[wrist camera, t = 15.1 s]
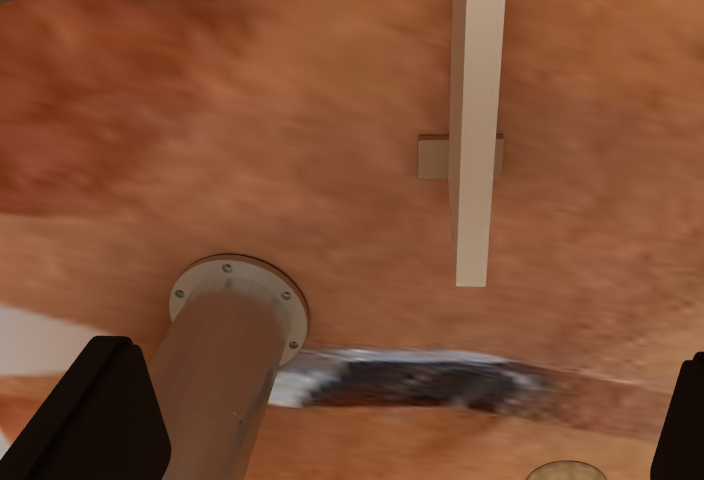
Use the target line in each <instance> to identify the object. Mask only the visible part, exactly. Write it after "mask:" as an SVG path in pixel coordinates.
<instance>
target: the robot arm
mask: <svg viewBox="0 0 704 480" xmlns="http://www.w3.org/2000/svg"><path fill="white" fill-rule="evenodd" d="M169 314H170V318H171V321H172V325H171V327H170V328H169V330H168V332H167V334H166V335H165V337H164V339H163V340H162V342H161V344H160V345H159V347H158V349H157V351H156V352H155V354H154V356H153V357H152V359H151V361H150V362H149V364H148V366H146V363H145V360H144V357H143V353H142V350H141V348H140V347H139V346H138V345H134V344H133V342H132V340H131V339H130V338H129V337H125V336H95V337H93V338H92V339H91V340H90V341H89V343H88V344H87V345H86V346H85V348H84V349H83V351H82V352H81V353H80V355H79V356H78V357H77V359H76V360H75V361H74V363H73V364H72V365H71V367H70V368H69V369H68V371H67V372H66V373H65V375H64V376H63V377H62V379H61V380H60V381H59V383H58V384H57V385H56V387H55V388H54V389H53V391H52V392H51V393H50V395H49V396H48V397H47V399H46V400H45V401H44V403H43V404H42V405H41V407H40V408H39V409H38V411H37V412H36V413H35V415H34V416H33V417H32V419H31V420H30V421H29V423H28V424H27V425H26V427H25V428H24V429H23V431H22V432H21V433H20V435H19V436H18V437H17V439H16V440H15V441H14V443H13V444H12V445H11V447H10V448H9V449H8V451H7V452H6V453H5V455H4V456H3V457H2V459H1V460H0V480H244V478H245V475H246V471H247V467H248V464H249V461H250V458H251V455H252V451H253V448H254V445H255V442H256V438H257V435H258V432H259V429H260V426H261V422H262V419H263V416H264V413H265V409H266V406H267V403H268V400H269V396H270V393H271V390H272V387H273V384H274V380H275V377H276V374H277V371H278V367H279V366H281V365H284V364H285V363H287V362H288V361H290V360H291V359H292V358H294V357H295V355H296V354H297V353H298V352H299V351H300V350H301V348H302V346H303V344H304V342H305V339H306V336H307V332H308V327H309V315H308V309H307V306H306V303H305V300H304V298H303V297H302V295H301V293H300V292H299V290H298V288H297V287H296V286H295V285H294V284H293V283H292V282H291V280H290V279H289V278H287V277H286V276H285V275H284V274H282V273H281V272H280V271H279V270H277V269H275V268H273V267H272V266H270V265H268V264H266V263H264V262H261V261H259V260H256V259H253V258H249V257H244V256H240V255H218V256H211V257H208V258H205V259H202V260H199V261H198V262H196V263H194V264H192V265H190V266H189V267H188V268H187V269H186V270H185V271H184V272H183V273H182V274H181V275H180V277H179V278H178V280H177V281H176V282H175V284H174V286H173V288H172V290H171V293H170V298H169ZM650 479H651V480H704V352H697V353H696V354H695V355H694V357H693V360H685V361H684V362H683V364H682V366H681V369H680V373H679V376H678V379H677V383H676V386H675V389H674V392H673V396H672V399H671V402H670V406H669V409H668V412H667V416H666V419H665V422H664V426H663V429H662V432H661V435H660V439H659V442H658V445H657V449H656V452H655V455H654V459H653V462H652V465H651V470H650Z"/></svg>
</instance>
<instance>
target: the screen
mask: <svg viewBox="0 0 704 480" xmlns="http://www.w3.org/2000/svg"><path fill="white" fill-rule="evenodd" d="M504 12H505V0H452V39H451V77H450V115H449V135H422V136H418V179H448V188H449V201H450V215H451V228H452V241H453V255H454V268H455V281H456V286H468V287H486V273H487V258H488V244H489V229H490V215H491V201H492V186H493V178H501V176H502V163H503V150H504V137H503V134H496V128H497V114H498V99H499V85H500V70H501V56H502V41H503V27H504Z"/></svg>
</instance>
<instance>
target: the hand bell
mask: <svg viewBox="0 0 704 480" xmlns="http://www.w3.org/2000/svg"><path fill="white" fill-rule="evenodd" d="M526 480H607V479H606V477H605V476H604V475H603V474H602V473H601V472H600V471H599V470H598V469H596V468H595V467H593V466H591V465H589V464H586V463H582V462H577V461H558V462H552V463H549V464H546V465H543V466H541V467H539V468H538V469H536V470H535V471H533V472H532V473H531V474H530V475H529V477H528V478H527V479H526Z"/></svg>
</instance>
